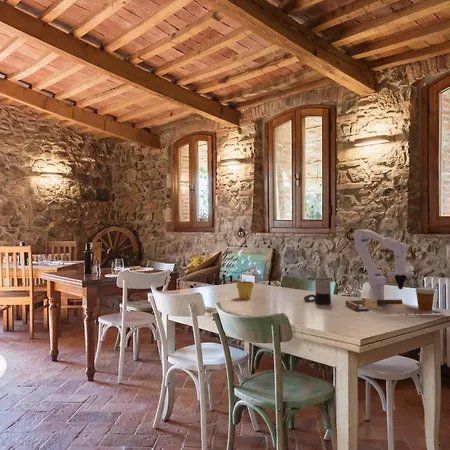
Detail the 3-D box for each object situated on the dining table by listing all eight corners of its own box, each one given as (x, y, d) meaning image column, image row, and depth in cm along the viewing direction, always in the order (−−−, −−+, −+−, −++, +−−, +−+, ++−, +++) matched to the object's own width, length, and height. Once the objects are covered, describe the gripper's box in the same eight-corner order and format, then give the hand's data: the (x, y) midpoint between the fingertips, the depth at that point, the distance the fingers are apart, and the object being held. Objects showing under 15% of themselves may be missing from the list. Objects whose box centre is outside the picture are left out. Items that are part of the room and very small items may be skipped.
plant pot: (253, 296, 285) (253, 281, 285) (253, 299, 275) (252, 283, 275) (237, 296, 286) (237, 281, 286) (236, 299, 276) (236, 283, 276)
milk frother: (331, 305, 254) (331, 278, 254) (302, 304, 257) (302, 278, 257) (331, 301, 267) (330, 276, 267) (304, 300, 271) (304, 275, 271)
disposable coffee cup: (423, 313, 227) (423, 290, 227) (411, 310, 237) (411, 287, 237) (439, 312, 230) (439, 289, 230) (426, 309, 239) (426, 286, 239)
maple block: (361, 305, 246) (361, 297, 246) (372, 305, 246) (372, 297, 246) (366, 307, 240) (366, 299, 240) (377, 307, 240) (376, 298, 240)
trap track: (345, 305, 251) (345, 300, 251) (401, 304, 253) (401, 299, 253) (356, 311, 235) (356, 305, 235) (414, 309, 238) (414, 304, 238)
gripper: (390, 265, 245) (391, 290, 245) (416, 264, 246) (416, 289, 246) (385, 264, 252) (385, 288, 252) (410, 263, 253) (410, 287, 253)
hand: (400, 288), depth 250 cm, fingers closed
